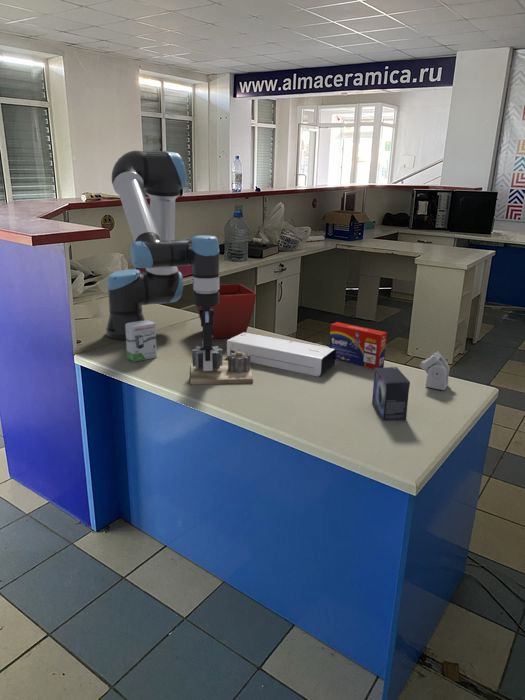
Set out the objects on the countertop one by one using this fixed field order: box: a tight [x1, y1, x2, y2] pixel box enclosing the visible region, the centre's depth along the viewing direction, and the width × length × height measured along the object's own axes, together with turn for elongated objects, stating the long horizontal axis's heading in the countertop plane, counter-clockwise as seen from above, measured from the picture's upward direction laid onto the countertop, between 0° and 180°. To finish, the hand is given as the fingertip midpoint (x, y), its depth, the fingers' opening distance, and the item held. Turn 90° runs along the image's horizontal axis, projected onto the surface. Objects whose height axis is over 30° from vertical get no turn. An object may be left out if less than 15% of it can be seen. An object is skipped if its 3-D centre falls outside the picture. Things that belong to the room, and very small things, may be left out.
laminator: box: [225, 332, 336, 377], centre depth 170 cm, size 34×12×6 cm, turn 61°
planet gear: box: [191, 345, 223, 370], centre depth 158 cm, size 9×9×5 cm
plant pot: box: [193, 283, 257, 339], centre depth 198 cm, size 19×19×17 cm
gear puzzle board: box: [190, 352, 254, 385], centre depth 159 cm, size 16×18×7 cm
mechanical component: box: [419, 351, 450, 391], centre depth 153 cm, size 5×8×10 cm
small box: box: [371, 366, 411, 421], centre depth 135 cm, size 11×6×10 cm, turn 5°
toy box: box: [328, 321, 388, 371], centre depth 170 cm, size 18×4×12 cm, turn 52°
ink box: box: [125, 319, 158, 363], centre depth 171 cm, size 9×5×12 cm, turn 129°
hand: (207, 364), depth 159 cm, fingers closed on planet gear, 9 cm apart
